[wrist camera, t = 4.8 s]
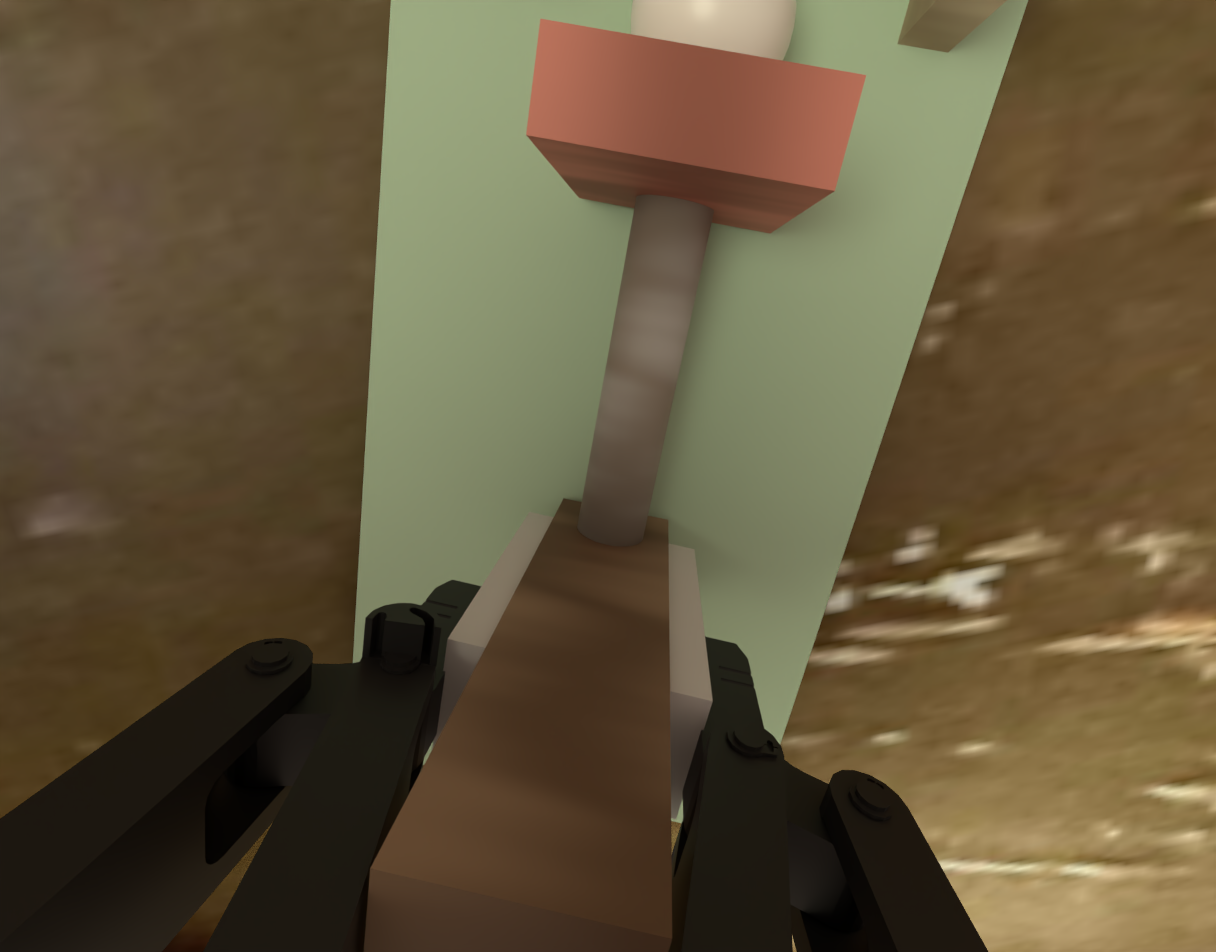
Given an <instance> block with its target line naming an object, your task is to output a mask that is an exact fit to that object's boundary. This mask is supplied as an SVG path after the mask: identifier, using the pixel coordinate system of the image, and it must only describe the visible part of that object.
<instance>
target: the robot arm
mask: <svg viewBox="0 0 1216 952" xmlns="http://www.w3.org/2000/svg"><path fill="white" fill-rule="evenodd" d="M553 518H554V517H550V516H546V515H541V514H537V513H532V512H529V513H528V515H527V516H526V518H525V519H524V521H523V523H522V524H521V526H520V527H519V529H518V530H517V532H516V533H515V535H514V537H513V538H512V540H511V541H510V543H509V544H508V546H507V547H506V549H505V550H504V552H503V554H502V555H501V557H500V558H499V560H498V561H497V563H496V564H495V566H494V568H493V569H492V571H491V572H490V574H489V575H488V577H487V578H486V580H485V582H484V583H483V585H482V586H478V585H474V584H469V583H465V582H461V581H456V580H450V581H448V582H446V583H444V584H442V585H440V586H438V587H436V588H435V589H434V590H433V591H432V593H431V594H430V595H429V596H428V598H427V599H426V602H424V603H423V604H422V605H418V604H414V603H395V604H389V605H384V606H382V607H379V608H377V609H375V610H373V611H372V612H371V613H370V614H369V615H368V616H367V617H366V618H365V629H364V640H363V652H362V658H361V660H360V662H356V663H349V664H312V659H313V653H312V651H311V650H310V649H309V647H308V646H307V645H305V644H303V643H301V642H299V641H297V640H291V639H284V638H275V639H264V640H260V641H256V642H252V643H249V644H247V645H245V646H243V647H241V648H239V649H237V650H236V651H234V652H233V653H231V654H230V655H229V656H227V657H226V658H224V659H223V660H222V661H220V662H219V663H217V664H216V665H215V666H213V667H212V668H210V669H209V670H208V671H206V672H205V673H203V674H202V675H201V676H199V677H198V678H196V679H195V680H194V681H192V682H191V683H189V684H188V685H187V686H185V687H184V688H182V689H181V690H180V691H178V692H177V693H175V694H174V695H173V696H171V697H170V698H168V699H167V700H166V701H164V702H163V703H161V704H160V705H159V706H157V707H156V708H154V709H153V710H152V711H150V712H149V713H147V714H146V715H145V716H143V717H142V718H140V719H139V720H138V721H136V722H135V723H133V724H132V725H131V726H129V727H128V728H126V729H125V730H124V731H122V732H121V733H120V734H118V735H117V736H115V737H114V738H113V739H111V740H110V741H108V742H107V743H106V744H104V745H103V746H101V747H100V748H99V749H97V750H96V751H94V752H93V753H92V754H90V755H89V756H87V757H86V758H85V759H83V760H82V761H80V762H79V763H78V764H76V765H75V766H73V767H72V768H71V769H69V770H68V771H66V772H65V773H64V774H62V775H61V776H59V777H58V778H57V779H55V780H54V781H52V782H51V783H50V784H48V785H47V786H45V787H44V788H43V789H41V790H40V791H38V792H37V793H36V794H34V795H33V796H31V797H30V798H29V799H27V800H26V801H24V802H23V803H22V804H20V805H19V806H17V807H16V808H15V809H13V810H12V811H10V812H9V813H8V814H6V815H5V816H4V817H2V818H1V819H0V952H162V951H163V950H164V948H165V947H166V946H167V945H168V944H169V943H170V941H171V940H172V939H173V938H174V937H175V936H176V934H177V933H178V932H179V931H180V930H181V929H182V927H183V926H184V925H185V924H186V923H187V922H188V920H189V919H190V918H191V917H192V916H193V915H194V913H195V912H196V911H197V910H198V909H199V908H200V906H201V905H202V904H203V903H204V902H205V901H206V899H207V898H208V897H209V896H210V895H211V893H212V892H213V891H214V890H215V889H216V888H217V886H218V885H219V884H220V883H221V882H222V881H223V879H224V878H225V877H226V876H227V875H228V874H229V872H230V871H231V870H232V869H233V868H234V867H235V865H236V864H237V863H238V862H239V861H240V860H241V858H242V857H243V856H244V855H245V854H246V853H247V851H248V850H249V849H250V848H251V847H252V846H253V844H254V843H255V842H256V841H257V840H258V839H259V837H260V836H261V835H262V834H263V833H264V832H265V830H266V829H267V828H268V827H269V826H270V824H271V823H272V822H273V823H272V825H271V827H270V829H269V831H268V832H267V834H266V836H265V838H264V840H263V842H262V844H261V845H260V847H259V849H258V851H257V853H256V855H255V857H254V858H253V860H252V862H251V864H250V866H249V868H248V870H247V871H246V873H245V875H244V877H243V879H242V881H241V883H240V884H239V886H238V888H237V890H236V892H235V894H234V896H233V897H232V899H231V901H230V903H229V905H228V907H227V909H226V910H225V912H224V914H223V916H222V918H221V920H220V921H219V923H218V925H217V927H216V929H215V931H214V933H213V934H212V936H211V938H210V940H209V942H208V944H207V946H206V947H205V949H204V951H203V952H364V941H365V929H366V916H367V903H368V890H369V877H370V868H371V866H372V864H373V862H374V860H375V858H376V856H377V854H378V852H379V851H380V849H381V847H382V845H383V843H384V841H385V839H386V837H387V835H388V833H389V831H390V830H391V828H392V826H393V824H394V822H395V820H396V818H397V816H398V814H399V812H400V810H401V808H402V807H403V805H404V803H405V801H406V799H407V797H408V795H409V793H410V791H411V789H412V787H413V785H414V784H415V782H416V780H417V778H418V776H419V774H420V772H421V770H422V768H423V761H424V757H425V755H426V753H427V751H428V750H429V748H430V746H431V744H432V742H433V747H434V745H435V743H436V741H437V740H438V738H439V736H440V734H441V732H442V730H443V728H444V726H445V724H446V722H447V720H448V719H449V717H450V715H451V713H452V711H453V709H454V707H455V705H456V703H457V701H458V699H459V697H460V696H461V694H462V692H463V690H464V688H465V686H466V684H467V682H468V680H469V678H470V676H471V674H472V673H473V671H474V669H475V667H476V665H477V663H478V661H479V659H480V657H481V655H482V653H483V652H484V650H485V648H486V646H487V644H488V642H489V640H490V638H491V636H492V634H493V632H494V630H495V629H496V627H497V625H498V623H499V621H500V619H501V617H502V615H503V613H504V611H505V609H506V608H507V606H508V604H509V602H510V600H511V598H512V596H513V594H514V592H515V590H516V588H517V586H518V585H519V583H520V581H521V579H522V577H523V575H524V573H525V571H526V569H527V567H528V565H529V563H530V562H531V560H532V558H533V556H534V554H535V552H536V550H537V548H538V546H539V544H540V542H541V541H542V539H543V537H544V535H545V533H546V531H547V529H548V527H549V525H550V523H551V521H552V519H553ZM669 644H670V751H671V818H672V819H676V818H677V815H678V811H679V808H680V805H681V802H682V799H683V821H682V824H681V827H680V830H679V833H678V836H677V840H676V843H675V846H674V849H673V852H672V856H671V858H672V941H671V945H670V948H669V951H668V952H793V950H792V935H793V939H794V943H795V946H796V950H797V952H988V950H987V948H986V947H985V945H984V943H983V941H982V940H981V938H980V936H979V934H978V932H977V931H976V929H975V927H974V925H973V923H972V922H971V920H970V918H969V916H968V914H967V913H966V911H965V909H964V907H963V905H962V904H961V902H960V900H959V898H958V897H957V895H956V893H955V891H954V889H953V888H952V886H951V884H950V882H949V880H948V879H947V877H946V875H945V873H944V871H943V870H942V868H941V866H940V864H939V862H938V861H937V859H936V857H935V855H934V854H933V852H932V850H931V848H930V846H929V845H928V843H927V841H926V839H925V837H924V836H923V834H922V832H921V830H920V828H919V827H918V825H917V823H916V821H915V819H914V818H913V816H912V814H911V812H910V811H909V809H908V807H907V806H906V805H905V803H904V802H903V801H902V799H901V798H900V797H899V795H897V794H896V793H895V792H894V791H893V790H892V789H890V788H889V787H888V786H887V785H886V784H884V783H883V782H881V781H879V780H877V779H876V778H874V777H872V776H870V775H868V774H865V773H862V772H858V771H855V770H841V771H839V772H837V773H835V774H833V776H832V778H831V780H830V783H829V784H827V783H825V782H823V781H821V780H819V779H817V778H815V777H812V776H810V775H808V774H806V773H804V772H802V771H801V770H799V769H797V768H795V767H793V766H792V765H791V764H789V763H788V762H787V761H785V760H784V754H783V751H782V748H781V745H780V744H779V743H778V741H777V740H776V739H775V737H774V736H773V735H772V734H771V733H769V732H768V731H767V730H766V729H764V725H763V721H762V717H761V713H760V708H759V704H758V700H757V695H756V691H755V688H754V683H753V678H752V676H751V670H750V665H749V661H748V658H747V657H746V655H745V654H744V653H743V652H742V650H741V649H740V648H739V647H738V645H737V644H735V643H731V642H727V641H723V640H718V639H714V638H710V637H705V633H704V624H703V616H702V608H701V599H700V591H699V583H698V574H697V566H696V558H695V549H691V548H687V547H682V546H678V545H673V544H669ZM433 747H432V749H433Z"/></svg>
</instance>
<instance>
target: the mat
mask: <svg viewBox="0 0 1216 952" xmlns="http://www.w3.org/2000/svg"><path fill="white" fill-rule="evenodd" d="M909 1H910V0H796V15H795V24H794V29H793V33H792V37H791V41H790V44H789V47H788V50H787V52H786V54H785V57H784V59H783V61H788V62H794V63H799V64H805V65H811V66H817V67H823V68H828V69H834V70H840V71H846V72H851V73H857V74H863V75H866V78H865V82H864V86H863V89H862V93H861V97H860V100H859V104H858V108H857V111H856V115H855V119H854V122H853V126H852V130H851V133H850V137H849V141H848V144H847V148H846V152H845V155H844V159H843V163H842V166H841V170H840V174H839V177H838V181H837V185H836V188H835V191H834V192H833V193H831V194H829V195H828V196H826V197H825V198H823V199H822V200H820V201H819V202H817V203H816V204H814V205H813V206H811V207H810V208H808V209H807V210H805V211H804V212H802V213H801V214H799V215H798V216H796V217H794V218H793V219H791V220H790V221H788V222H787V223H785V224H784V225H782V226H781V227H779V228H778V229H776V230H775V231H773V232H772V233H765V232H760V231H754V230H749V229H743V228H738V227H733V226H727V225H722V224H716V223H711V228H710V232H709V237H708V242H707V246H706V251H705V255H704V260H703V265H702V269H701V274H700V278H699V283H698V288H697V292H696V297H695V301H694V306H693V311H692V315H691V320H690V324H689V329H688V334H687V338H686V343H685V347H684V352H683V357H682V361H681V366H680V370H679V375H678V380H677V384H676V389H675V393H674V398H673V403H672V407H671V412H670V416H669V421H668V426H667V430H666V435H665V439H664V444H663V449H662V453H661V458H660V462H659V467H658V472H657V476H656V481H655V485H654V490H653V495H652V499H651V504H650V508H649V513H648V516H652V517H657V518H662V519H667V520H668V537H669V544H673V545H678V546H682V547H687V548H691V549H695V558H696V566H697V574H698V583H699V591H700V599H701V608H702V616H703V624H704V633H705V637H710V638H714V639H718V640H723V641H727V642H731V643H735V644H737V645H738V647H739V648H740V649H741V650H742V652H743V653H744V654H745V655H746V657H747V658H748V661H749V665H750V670H751V676H752V678H753V683H754V688H755V691H756V695H757V700H758V704H759V708H760V713H761V717H762V721H763V725H764V729H766V730H767V731H768V732H769V733H771V734H772V735H773V736H774V737H775V739H776V740H777V741H778V743H779V744H780V743H781V740H782V737H783V734H784V731H785V728H786V725H787V722H788V719H789V716H790V713H791V710H792V707H793V704H794V701H795V698H796V695H797V692H798V689H799V686H800V683H801V680H802V677H803V674H804V671H805V668H806V665H807V662H808V659H809V656H810V653H811V650H812V647H813V644H814V641H815V638H816V635H817V632H818V629H819V626H820V623H821V620H822V617H823V614H824V611H825V608H826V605H827V602H828V599H829V596H830V593H831V590H832V587H833V584H834V581H835V578H836V575H837V572H838V569H839V566H840V563H841V560H842V557H843V554H844V551H845V548H846V545H847V542H848V539H849V536H850V533H851V530H852V527H853V524H854V521H855V518H856V515H857V512H858V509H859V506H860V503H861V500H862V497H863V494H864V491H865V488H866V485H867V482H868V479H869V476H870V473H871V470H872V467H873V464H874V461H875V458H876V455H877V452H878V449H879V446H880V443H881V440H882V437H883V434H884V431H885V428H886V425H887V422H888V419H889V416H890V413H891V410H892V407H893V404H894V401H895V398H896V395H897V392H898V389H899V386H900V383H901V380H902V377H903V374H904V371H905V368H906V365H907V362H908V359H909V356H910V353H911V350H912V347H913V344H914V341H915V338H916V335H917V332H918V329H919V326H920V323H921V320H922V317H923V314H924V311H925V308H926V305H927V302H928V299H929V296H930V293H931V290H932V287H933V284H934V281H935V278H936V275H937V272H938V269H939V266H940V263H941V260H942V257H943V254H944V251H945V248H946V245H947V242H948V239H949V236H950V233H951V230H952V227H953V224H954V221H955V218H956V215H957V212H958V209H959V206H960V203H961V200H962V197H963V194H964V191H965V188H966V185H967V182H968V179H969V176H970V173H971V170H972V167H973V164H974V161H975V158H976V155H977V152H978V149H979V146H980V143H981V140H982V137H983V134H984V131H985V128H986V125H987V122H988V119H989V116H990V113H991V110H992V107H993V104H994V101H995V98H996V95H997V92H998V89H999V86H1000V83H1001V80H1002V77H1003V74H1004V71H1005V68H1006V65H1007V62H1008V59H1009V56H1010V53H1011V50H1012V47H1013V44H1014V41H1015V38H1016V35H1017V32H1018V29H1019V26H1020V23H1021V20H1022V17H1023V14H1024V11H1025V8H1026V5H1027V2H1028V0H1007V1H1006V2H1005V3H1003V4H1002V5H1001V6H1000V7H999V8H998V9H997V10H996V11H994V12H993V13H992V14H991V15H990V16H989V17H988V18H987V19H985V20H984V21H983V22H982V23H981V24H980V25H979V26H977V27H976V28H975V29H974V30H973V31H972V32H971V33H970V34H968V35H967V36H966V37H965V38H964V39H963V40H962V41H961V42H959V43H958V44H957V45H956V46H955V47H954V48H953V49H951V50H950V51H949V52H948V53H947V52H941V51H935V50H930V49H924V48H918V47H912V46H906V45H900V44H897V43H898V40H899V36H900V33H901V29H902V26H903V22H904V19H905V15H906V11H907V8H908V4H909ZM632 3H633V0H391V9H390V27H389V44H388V61H387V78H386V96H385V113H384V130H383V148H382V165H381V182H380V200H379V217H378V234H377V252H376V269H375V286H374V304H373V321H372V338H371V356H370V373H369V390H368V408H367V425H366V442H365V460H364V477H363V494H362V512H361V529H360V546H359V564H358V581H357V598H356V616H355V633H354V650H353V663H356V662H360V660H361V658H362V652H363V640H364V629H365V618H366V617H367V616H368V615H369V614H370V613H371V612H372V611H373V610H375V609H377V608H379V607H382V606H384V605H389V604H395V603H414V604H418V605H422V604H423V603H424V602H426V599H427V598H428V596H429V595H430V594H431V593H432V591H433V590H434V589H435V588H436V587H438V586H440V585H442V584H444V583H446V582H448V581H450V580H456V581H461V582H465V583H469V584H474V585H478V586H482V585H483V583H484V582H485V580H486V578H487V577H488V575H489V574H490V572H491V571H492V569H493V568H494V566H495V564H496V563H497V561H498V560H499V558H500V557H501V555H502V554H503V552H504V550H505V549H506V547H507V546H508V544H509V543H510V541H511V540H512V538H513V537H514V535H515V533H516V532H517V530H518V529H519V527H520V526H521V524H522V523H523V521H524V519H525V518H526V516H527V515H528V513H529V512H532V513H537V514H541V515H546V516H550V517H554V516H555V514H556V512H557V510H558V508H559V506H560V504H561V502H562V500H563V498H565V499H570V500H575V501H579V502H582V498H583V492H584V486H585V481H586V475H587V470H588V464H589V458H590V453H591V447H592V442H593V436H594V431H595V425H596V419H597V414H598V408H599V403H600V397H601V391H602V386H603V380H604V375H605V369H606V364H607V358H608V352H609V347H610V341H611V336H612V330H613V324H614V319H615V313H616V308H617V302H618V297H619V291H620V285H621V280H622V274H623V269H624V263H625V257H626V252H627V246H628V241H629V235H630V230H631V224H632V218H633V213H634V208H630V207H625V206H619V205H614V204H608V203H603V202H598V201H592V200H587V199H581V198H579V197H578V196H577V195H576V194H575V193H574V191H573V190H572V189H571V188H570V187H569V185H568V184H567V183H566V182H565V181H564V180H563V178H562V177H561V176H560V175H559V174H558V172H557V171H556V170H555V169H554V168H553V166H552V165H551V164H550V163H549V162H548V161H547V159H546V158H545V157H544V156H543V155H542V153H541V152H540V151H539V150H538V149H537V147H536V146H535V145H534V144H533V143H532V141H531V140H530V139H529V138H528V137H527V136H526V131H527V123H528V115H529V107H530V99H531V91H532V82H533V74H534V66H535V58H536V50H537V42H538V34H539V26H540V19H546V20H552V21H557V22H563V23H569V24H575V25H580V26H586V27H592V28H598V29H603V30H609V31H615V32H621V33H626V34H631V11H632ZM432 747H433V742H432V744H431V746H430V748H429V750H428V751H427V753H426V755H425V757H424V761H423V765H424V764H425V763H426V761H427V759H428V757H429V755H430V753H431V751H432ZM671 821H674V822H679V823H682V821H683V799H682V802H681V805H680V808H679V811H678V815H677V818H676V819H672V818H671Z"/></svg>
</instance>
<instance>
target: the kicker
mask: <svg viewBox="0 0 1216 952" xmlns="http://www.w3.org/2000/svg"><path fill="white" fill-rule="evenodd" d="M865 78H866V75H863V74H857V73H851V72H846V71H840V70H834V69H828V68H823V67H817V66H811V65H805V64H799V63H794V62H788V61H782V60H776V59H771V58H765V57H759V56H753V55H748V54H742V53H736V52H730V51H725V50H719V49H713V48H707V47H701V46H696V45H690V44H684V43H678V42H673V41H667V40H661V39H655V38H650V37H644V36H638V35H632V34H626V33H621V32H615V31H609V30H603V29H598V28H592V27H586V26H580V25H575V24H569V23H563V22H557V21H552V20H546V19H540V26H539V34H538V42H537V50H536V58H535V66H534V74H533V82H532V91H531V99H530V107H529V115H528V123H527V131H526V136H527V137H528V138H529V139H530V140H531V141H532V143H533V144H534V145H535V146H536V147H537V149H538V150H539V151H540V152H541V153H542V155H543V156H544V157H545V158H546V159H547V161H548V162H549V163H550V164H551V165H552V166H553V168H554V169H555V170H556V171H557V172H558V174H559V175H560V176H561V177H562V178H563V180H564V181H565V182H566V183H567V184H568V185H569V187H570V188H571V189H572V190H573V191H574V193H575V194H576V195H577V196H578V197H579V198H581V199H587V200H592V201H598V202H603V203H608V204H614V205H619V206H625V207H630V208H634V213H633V218H632V224H631V230H630V235H629V241H628V246H627V252H626V257H625V263H624V269H623V274H622V280H621V285H620V291H619V297H618V302H617V308H616V313H615V319H614V324H613V330H612V336H611V341H610V347H609V352H608V358H607V364H606V369H605V375H604V380H603V386H602V391H601V397H600V403H599V408H598V414H597V419H596V425H595V431H594V436H593V442H592V447H591V453H590V458H589V464H588V470H587V475H586V481H585V486H584V492H583V498H582V502H579V501H575V500H570V499H565V498H563V500H562V502H561V504H560V506H559V508H558V510H557V512H556V514H555V516H554V518H553V519H552V521H551V523H550V525H549V527H548V529H547V531H546V533H545V535H544V537H543V539H542V541H541V542H540V544H539V546H538V548H537V550H536V552H535V554H534V556H533V558H532V560H531V562H530V563H529V565H528V567H527V569H526V571H525V573H524V575H523V577H522V579H521V581H520V583H519V585H518V586H517V588H516V590H515V592H514V594H513V596H512V598H511V600H510V602H509V604H508V606H507V608H506V609H505V611H504V613H503V615H502V617H501V619H500V621H499V623H498V625H497V627H496V629H495V630H494V632H493V634H492V636H491V638H490V640H489V642H488V644H487V646H486V648H485V650H484V652H483V653H482V655H481V657H480V659H479V661H478V663H477V665H476V667H475V669H474V671H473V673H472V674H471V676H470V678H469V680H468V682H467V684H466V686H465V688H464V690H463V692H462V694H461V696H460V697H459V699H458V701H457V703H456V705H455V707H454V709H453V711H452V713H451V715H450V717H449V719H448V720H447V722H446V724H445V726H444V728H443V730H442V732H441V734H440V736H439V738H438V740H437V741H436V743H435V745H434V747H433V749H432V751H431V753H430V755H429V757H428V759H427V761H426V763H425V764H424V766H423V768H422V770H421V772H420V774H419V776H418V778H417V780H416V782H415V784H414V785H413V787H412V789H411V791H410V793H409V795H408V797H407V799H406V801H405V803H404V805H403V807H402V808H401V810H400V812H399V814H398V816H397V818H396V820H395V822H394V824H393V826H392V828H391V830H390V831H389V833H388V835H387V837H386V839H385V841H384V843H383V845H382V847H381V849H380V851H379V852H378V854H377V856H376V858H375V860H374V862H373V864H372V866H371V868H370V877H369V890H368V903H367V916H366V929H365V941H364V952H668V951H669V948H670V945H671V941H672V858H671V751H670V644H669V537H668V520H667V519H662V518H657V517H652V516H648V513H649V508H650V504H651V499H652V495H653V490H654V485H655V481H656V476H657V472H658V467H659V462H660V458H661V453H662V449H663V444H664V439H665V435H666V430H667V426H668V421H669V416H670V412H671V407H672V403H673V398H674V393H675V389H676V384H677V380H678V375H679V370H680V366H681V361H682V357H683V352H684V347H685V343H686V338H687V334H688V329H689V324H690V320H691V315H692V311H693V306H694V301H695V297H696V292H697V288H698V283H699V278H700V274H701V269H702V265H703V260H704V255H705V251H706V246H707V242H708V237H709V232H710V228H711V223H716V224H722V225H727V226H733V227H738V228H743V229H749V230H754V231H760V232H765V233H772V232H773V231H775V230H776V229H778V228H779V227H781V226H782V225H784V224H785V223H787V222H788V221H790V220H791V219H793V218H794V217H796V216H798V215H799V214H801V213H802V212H804V211H805V210H807V209H808V208H810V207H811V206H813V205H814V204H816V203H817V202H819V201H820V200H822V199H823V198H825V197H826V196H828V195H829V194H831V193H833V192H834V191H835V188H836V185H837V181H838V177H839V174H840V170H841V166H842V163H843V159H844V155H845V152H846V148H847V144H848V141H849V137H850V133H851V130H852V126H853V122H854V119H855V115H856V111H857V108H858V104H859V100H860V97H861V93H862V89H863V86H864V82H865Z"/></svg>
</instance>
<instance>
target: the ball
mask: <svg viewBox="0 0 1216 952" xmlns="http://www.w3.org/2000/svg"><path fill="white" fill-rule="evenodd" d="M795 15H796V0H633V3H632V11H631V34H632V35H638V36H644V37H650V38H655V39H661V40H667V41H673V42H678V43H684V44H690V45H696V46H701V47H707V48H713V49H719V50H725V51H730V52H736V53H742V54H748V55H753V56H759V57H765V58H771V59H776V60H782V61H783V59H784V57H785V54H786V52H787V50H788V47H789V44H790V41H791V37H792V33H793V29H794V24H795Z"/></svg>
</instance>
